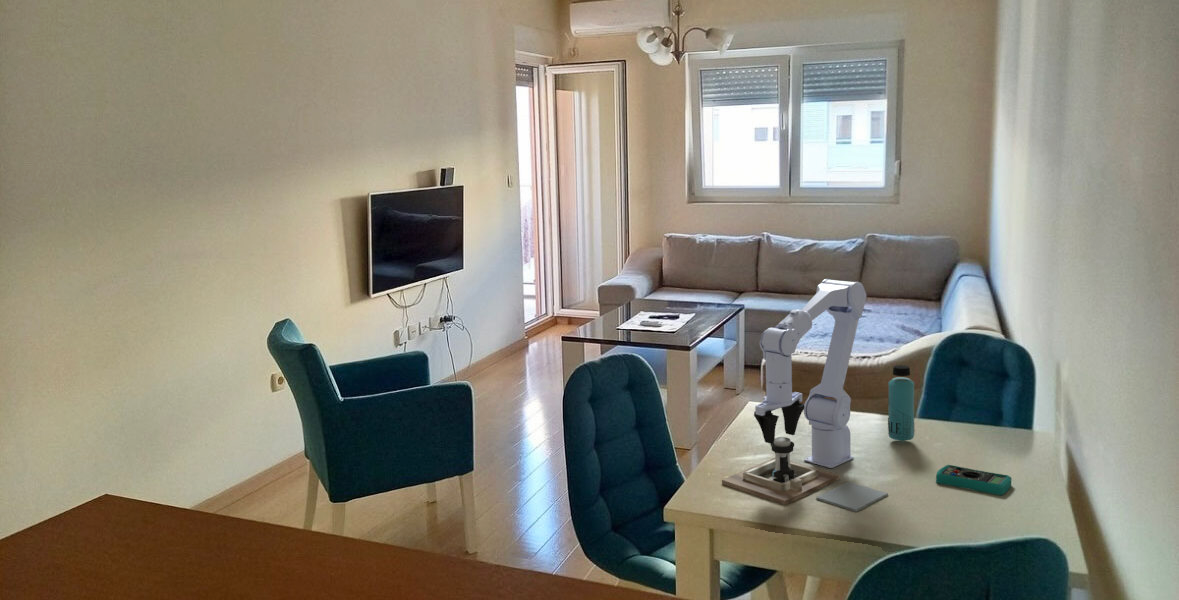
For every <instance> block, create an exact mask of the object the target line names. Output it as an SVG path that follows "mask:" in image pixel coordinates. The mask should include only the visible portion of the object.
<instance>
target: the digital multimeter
mask: <svg viewBox="0 0 1179 600" xmlns="http://www.w3.org/2000/svg"><path fill="white" fill-rule="evenodd" d="M935 483H936V484H940V485H945V486H951V487H957V488H963V489H965V490H966V489H967V490H972V491H977V492H980V493H981V492H982V493H985V494H991V495H995V496H1003V495H1005V494H1006V493H1007V492H1008V491H1009V490H1010V488H1011V487H1012V476H1010V475H1008V474H1003V473H996V472H990V471H983V470H978V469H972V468H966V467H961V466H958V465H952V464H947V465H945V466H943V467H941V468H939V469H938V470H937V472H936V475H935Z"/></svg>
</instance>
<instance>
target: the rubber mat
mask: <svg viewBox="0 0 1179 600" xmlns="http://www.w3.org/2000/svg"><path fill="white" fill-rule="evenodd" d="M888 495H889V493H888V492H885V491H881V490H878V489H876V488H875V489H874V488H871V487H868V486H864V485H860V484H858V483H854V482H850V481H847V482H844V483H843V484H840V485H839V486H837V487H834V488H833V489H831V490H829V491H826V492H824V493H822V494H820V495H818V496H816V500H818V501H821V502H824V503H827V504H831V505H834V506H835V507H836V506H837V507H840V508H843V509H846V510H849V511H852V512H856V513H857V512H859V511H860V510H863V509H865V508H867V507H869V506H870V505H872V504H875V503H877V502H879V501H880V500H882V499H884V498H885V497H888Z"/></svg>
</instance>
